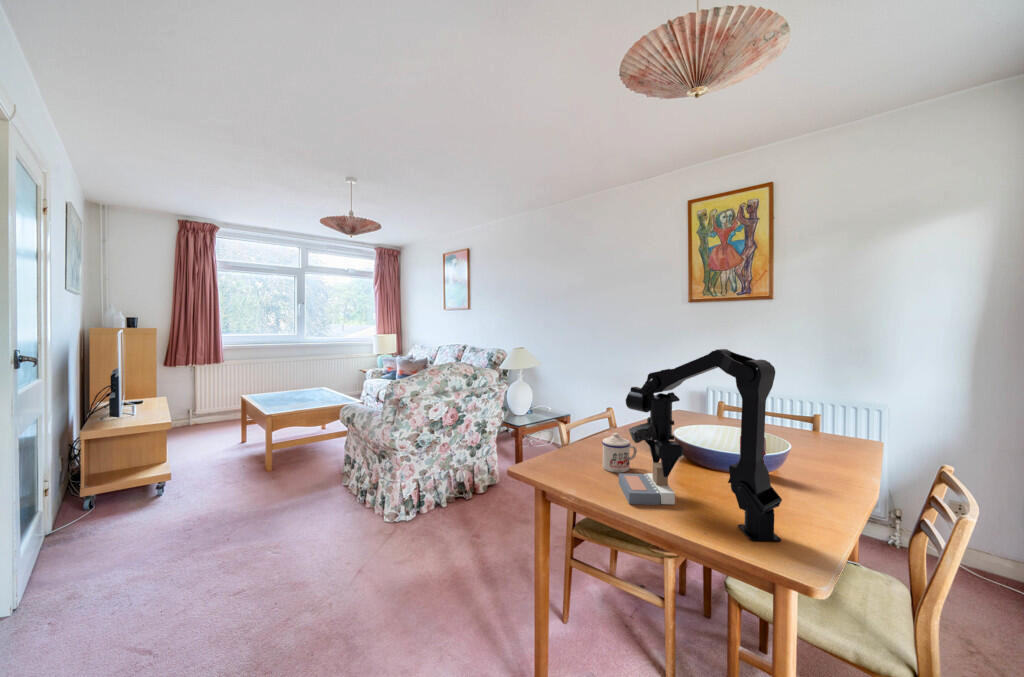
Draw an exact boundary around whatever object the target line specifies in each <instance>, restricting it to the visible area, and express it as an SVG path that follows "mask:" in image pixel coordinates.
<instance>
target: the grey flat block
mask: <svg viewBox="0 0 1024 677" xmlns="http://www.w3.org/2000/svg"><path fill="white" fill-rule="evenodd" d="M618 485H619V486H620V488H621V491H622V493H623V494H624V497H625V498H626V501H627V502H628V504H629V505H643V506H644V505H646V506H647V505H648V506H650V505H652V506H660V505H661V503H660V493H659V492H658V490H657V489H656V488H655V486H654V485H653V483H652V482H651V480H650V479H649V478H648V476H647V473H625V472H622V473H618Z"/></svg>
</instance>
